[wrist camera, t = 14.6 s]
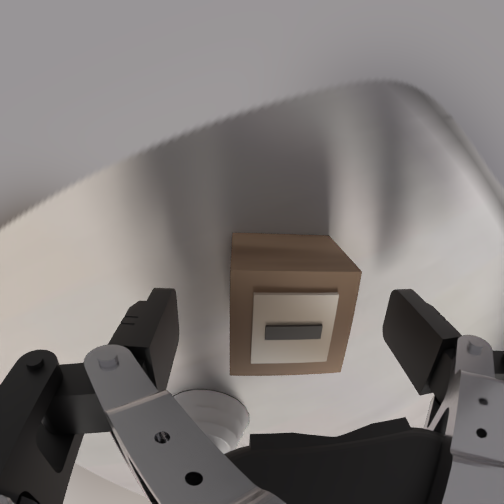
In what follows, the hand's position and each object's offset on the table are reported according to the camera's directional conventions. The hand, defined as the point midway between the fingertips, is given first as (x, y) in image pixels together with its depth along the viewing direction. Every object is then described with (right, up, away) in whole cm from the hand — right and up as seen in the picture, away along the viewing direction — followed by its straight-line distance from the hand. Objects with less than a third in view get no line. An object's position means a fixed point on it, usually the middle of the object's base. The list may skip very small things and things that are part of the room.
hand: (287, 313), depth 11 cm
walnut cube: (0, +1, +3) cm, 3 cm away
